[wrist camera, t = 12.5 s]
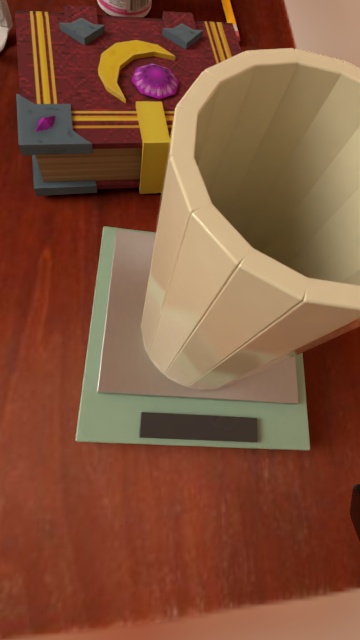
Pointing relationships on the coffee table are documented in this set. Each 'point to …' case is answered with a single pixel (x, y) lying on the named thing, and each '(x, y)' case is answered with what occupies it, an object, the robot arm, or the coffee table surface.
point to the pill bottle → (126, 7)
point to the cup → (256, 218)
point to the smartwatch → (4, 23)
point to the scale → (161, 392)
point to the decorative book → (107, 93)
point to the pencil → (230, 16)
